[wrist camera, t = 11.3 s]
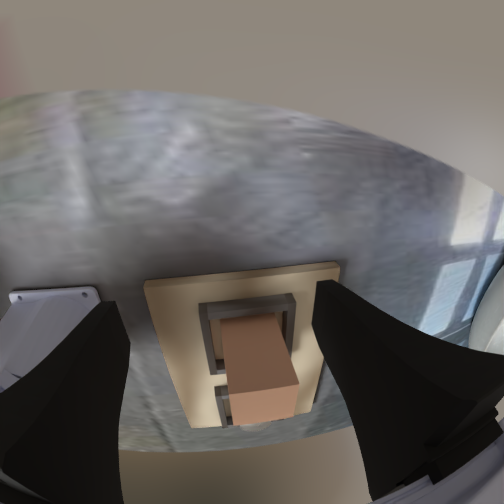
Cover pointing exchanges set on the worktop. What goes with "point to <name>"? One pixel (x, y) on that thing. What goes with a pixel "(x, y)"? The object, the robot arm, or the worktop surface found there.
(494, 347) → the serving bowl
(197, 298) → the board
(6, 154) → the worktop surface
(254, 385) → the tan tall block
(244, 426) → the pin
